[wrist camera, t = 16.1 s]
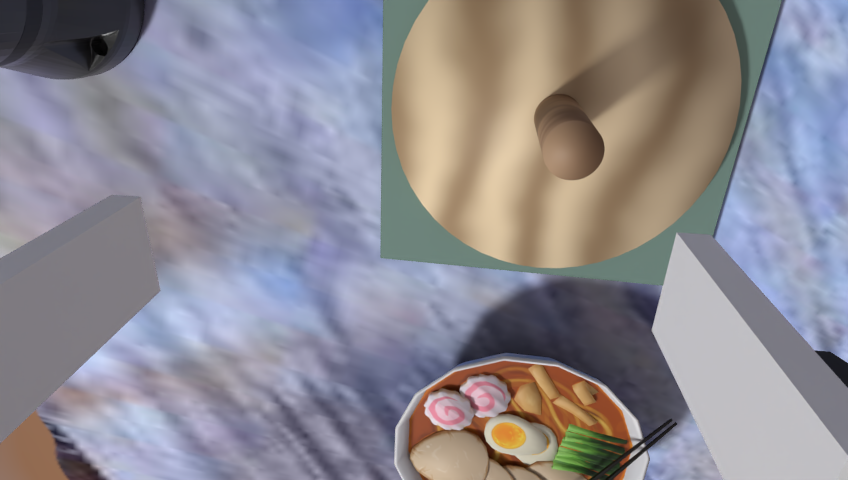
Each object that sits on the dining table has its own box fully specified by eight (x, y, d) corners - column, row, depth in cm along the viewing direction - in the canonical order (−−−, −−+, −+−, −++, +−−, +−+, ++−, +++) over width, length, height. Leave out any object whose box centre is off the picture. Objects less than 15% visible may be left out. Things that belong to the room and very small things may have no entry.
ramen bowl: (505, 258, 49) (506, 305, 41) (691, 393, 52) (722, 459, 45) (358, 417, 59) (338, 478, 52) (522, 522, 62) (525, 593, 55)
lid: (392, 250, 49) (364, 314, 39) (395, -80, 38) (358, -106, 28) (689, 275, 47) (740, 351, 37) (782, -71, 36) (891, -97, 26)
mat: (381, 255, 50) (380, 257, 50) (386, -97, 39) (384, -98, 38) (695, 285, 47) (697, 288, 47) (802, -84, 36) (806, -85, 35)
